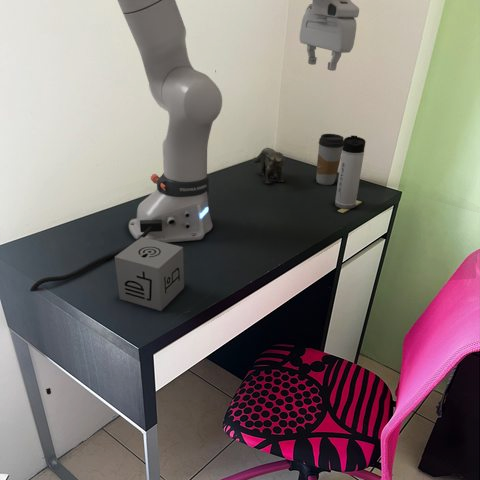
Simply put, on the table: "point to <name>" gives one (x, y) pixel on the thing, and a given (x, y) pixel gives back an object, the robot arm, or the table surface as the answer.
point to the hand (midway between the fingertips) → (321, 67)
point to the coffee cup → (329, 158)
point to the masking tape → (348, 209)
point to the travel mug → (350, 172)
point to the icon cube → (150, 273)
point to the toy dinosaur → (270, 164)
